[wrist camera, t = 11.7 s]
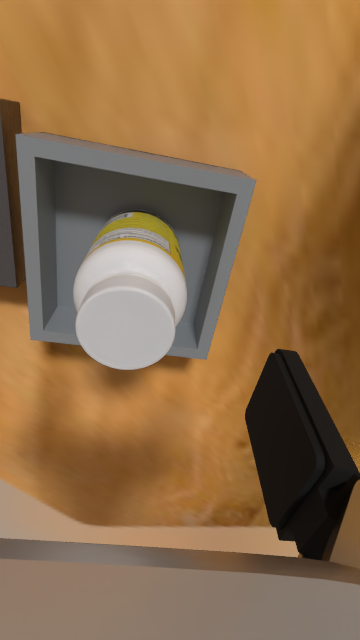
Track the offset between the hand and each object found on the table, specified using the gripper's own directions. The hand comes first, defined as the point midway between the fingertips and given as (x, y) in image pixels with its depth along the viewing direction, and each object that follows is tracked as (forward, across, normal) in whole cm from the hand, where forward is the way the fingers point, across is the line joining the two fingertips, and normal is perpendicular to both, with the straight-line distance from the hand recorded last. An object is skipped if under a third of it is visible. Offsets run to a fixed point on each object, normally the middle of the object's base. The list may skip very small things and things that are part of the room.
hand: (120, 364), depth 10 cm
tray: (+13, +1, +1) cm, 13 cm away
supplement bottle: (+13, 0, +1) cm, 13 cm away
